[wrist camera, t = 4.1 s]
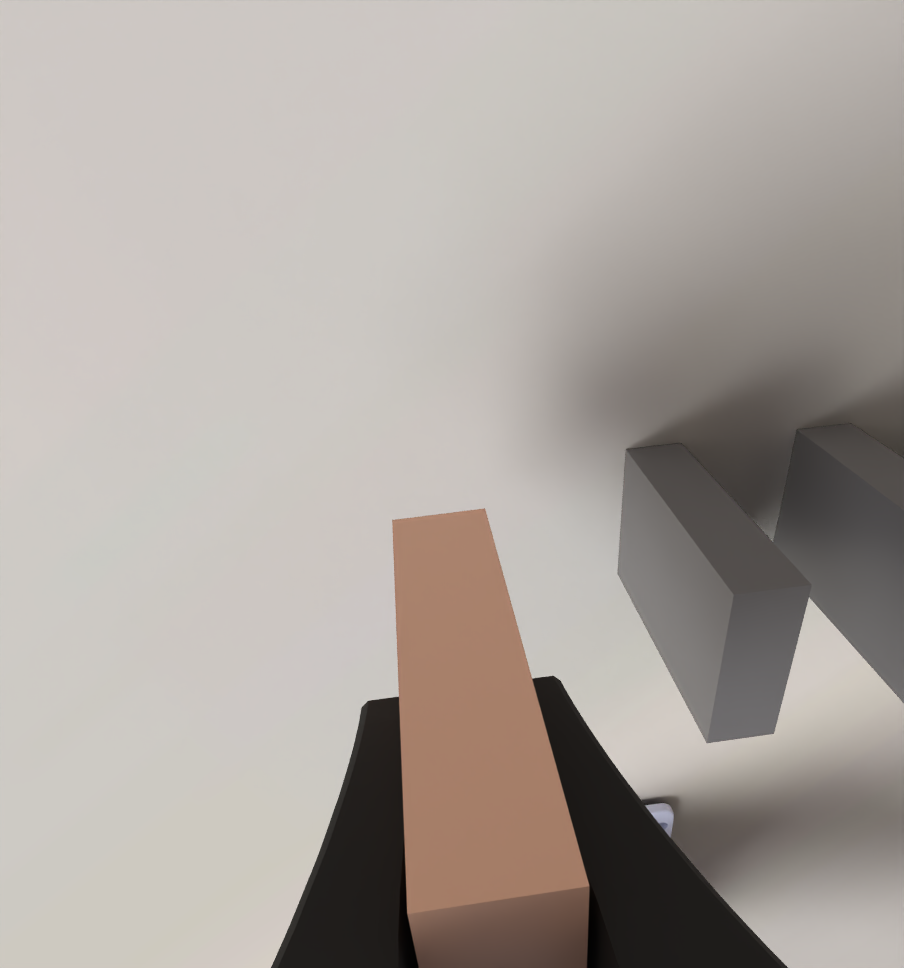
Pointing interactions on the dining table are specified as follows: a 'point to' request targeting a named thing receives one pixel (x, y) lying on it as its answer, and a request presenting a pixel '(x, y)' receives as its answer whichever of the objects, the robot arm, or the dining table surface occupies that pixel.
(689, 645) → the domino
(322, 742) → the dining table surface
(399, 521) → the domino
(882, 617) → the grey rectangular block
